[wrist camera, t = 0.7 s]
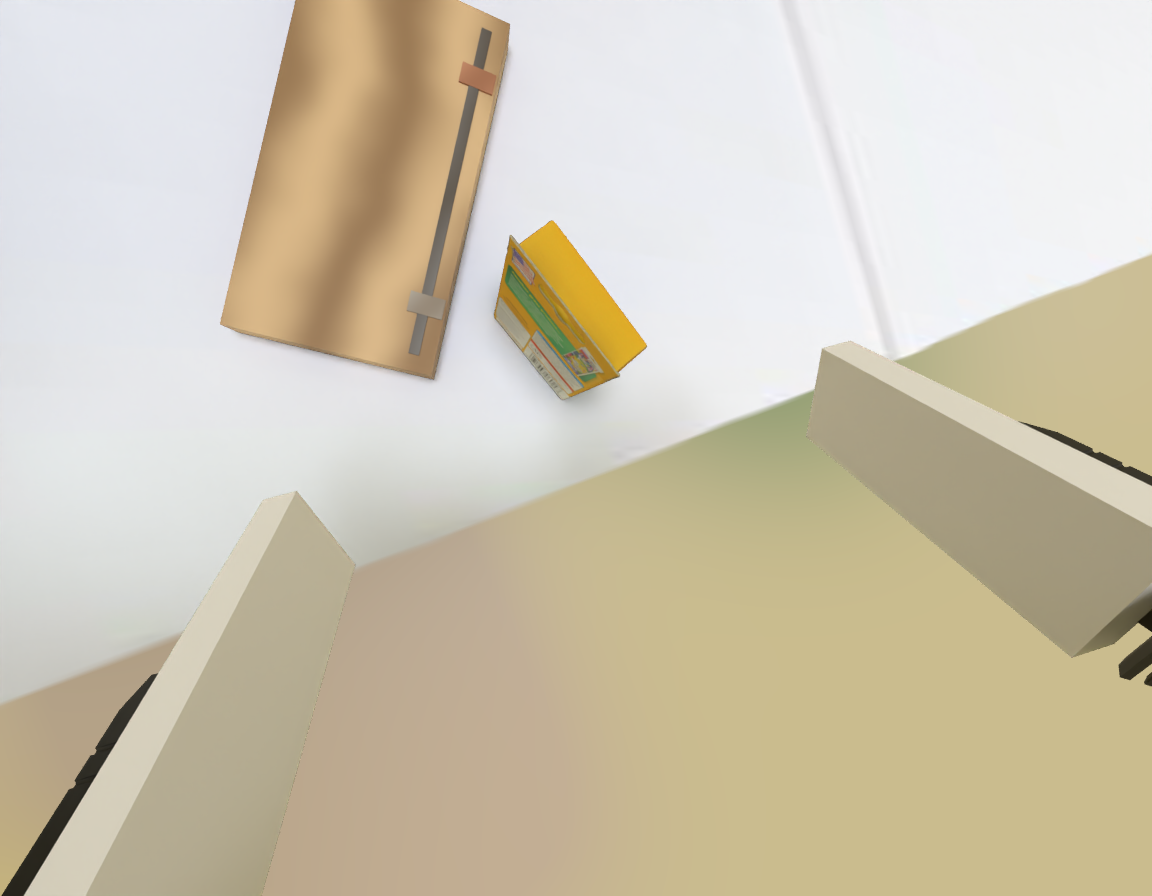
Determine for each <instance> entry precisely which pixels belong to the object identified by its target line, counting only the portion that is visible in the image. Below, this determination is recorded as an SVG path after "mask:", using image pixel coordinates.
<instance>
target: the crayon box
mask: <svg viewBox="0 0 1152 896" xmlns="http://www.w3.org/2000/svg"><path fill="white" fill-rule="evenodd" d="M494 317H495V319H496V320H497V321H498V322H499V323H500V325H501V326H502V327H503V328H504V330H505V331H506V332H507V333H508V335H509V336H510V337H511V338H512V339H513V341H514V342H515V343H516V344H517V345H518V347H519V348H520V349H521V350H522V352H523V353H524V354H525V356H526V357H527V358H528V359H529V361H530V362H531V363H532V364H533V366H534V367H535V368H536V369H537V371H538V372H539V373H540V374H541V375H542V377H543V378H544V379H545V380H546V381H547V383H548V384H549V385H550V386H551V388H552V389H553V390H554V391H555V392H556V394H557V395H558V396H559V397H560V399H561V400H565V399H567V398H569V397H572V396H574V395H577V394H579V393H581V392H584V391H586V390H589V389H591V388H593V387H596V386H598V385H600V384H603V383H605V382H607V381H610V380H611V379H614V378H617V377H620V374H619V373H618V372H619V371H620V370H622V369H623V368H624V367H625V366H626V365H627V364H628V363H630V362H631V361H632V360H633V359H634V358H635V357H636V356H638V355H639V354H640V353H641V352H642V351H643V350H645V349H646V347H647V345H646V343H645V342H644V340H643V339H642V338H641V336H640V335H639V334H638V332H637V331H636V330H635V328H634V327H633V326H632V324H631V323H630V322H629V320H628V319H627V318H626V316H625V315H624V313H623V312H622V311H621V310H620V308H619V307H618V305H617V304H616V303H615V301H614V300H613V299H612V297H611V296H610V295H609V293H608V292H607V291H606V289H605V288H604V286H603V285H602V284H601V283H600V281H599V280H598V278H597V277H596V276H595V275H594V273H593V272H592V270H591V269H590V268H589V267H588V265H587V264H586V262H585V261H584V260H583V259H582V257H581V256H580V255H579V254H578V252H577V251H576V249H575V248H574V247H573V245H572V244H571V243H570V242H569V240H568V239H567V237H566V236H565V235H564V234H563V232H562V231H561V230H560V228H559V227H558V226H557V224H556V223H555V222H554V221H552V220H551V221H549V222H548V223H547V224H546V225H545V226H543V227H542V228H540V229H539V230H538V231H536V232H535V233H533V234H532V235H531V236H529V237H528V238H527V239H525V240H524V241H523V242H521V243H520V244H518V243H517V241H516V240H515V239H514V238H513V236H512V235H510V237H509V245H508V247H507V254H506V258H505V263H504V269H503V274H502V279H501V283H500V289H499V293H498V298H497V303H496V308H495V312H494Z"/></svg>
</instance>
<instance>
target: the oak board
mask: <svg viewBox="0 0 1152 896" xmlns="http://www.w3.org/2000/svg"><path fill="white" fill-rule="evenodd" d="M509 30H510V24H509V23H506V22H504V21H502V20H500V19H498V18H496V17H493V16H491V15H489V14H487V13H485V12H483V11H480V10H478V9H476V8H474V7H472V6H470V5H467V4H465V3H463V2H461V1H459V0H296V1H295V5H294V10H293V14H292V18H291V23H290V27H289V31H288V35H287V40H286V44H285V48H284V52H283V57H282V61H281V65H280V70H279V74H278V78H277V82H276V87H275V91H274V95H273V100H272V104H271V108H270V112H269V117H268V121H267V125H266V129H265V134H264V138H263V142H262V147H261V151H260V155H259V159H258V164H257V168H256V172H255V176H254V181H253V185H252V189H251V194H250V198H249V202H248V206H247V211H246V215H245V219H244V223H243V228H242V232H241V236H240V241H239V245H238V249H237V253H236V258H235V262H234V266H233V270H232V275H231V279H230V283H229V288H228V292H227V296H226V300H225V305H224V309H223V313H222V317H221V322H220V324H221V325H223V326H225V327H228V328H230V329H232V330H235V331H237V332H240V333H244V334H248V335H252V336H256V337H261V338H265V339H269V340H273V341H277V342H281V343H285V344H289V345H293V346H298V347H302V348H306V349H310V350H314V351H318V352H322V353H326V354H330V355H335V356H339V357H343V358H347V359H351V360H355V361H359V362H363V363H368V364H372V365H376V366H380V367H384V368H388V369H392V370H396V371H400V372H405V373H409V374H413V375H417V376H421V377H425V378H429V379H433V380H434V376H435V372H436V368H437V363H438V359H439V354H440V350H441V345H442V341H443V336H444V332H445V327H446V323H447V319H448V314H449V310H450V305H451V301H452V296H453V292H454V287H455V283H456V278H457V274H458V270H459V265H460V261H461V256H462V252H463V247H464V243H465V238H466V234H467V229H468V225H469V221H470V216H471V212H472V207H473V203H474V198H475V194H476V189H477V185H478V180H479V176H480V172H481V167H482V163H483V158H484V154H485V149H486V145H487V140H488V136H489V131H490V127H491V123H492V118H493V114H494V109H495V105H496V100H497V96H498V91H499V87H500V83H501V78H502V74H503V69H504V65H505V60H506V56H507V51H508V42H509Z"/></svg>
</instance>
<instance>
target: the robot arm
mask: <svg viewBox="0 0 1152 896" xmlns="http://www.w3.org/2000/svg"><path fill="white" fill-rule="evenodd" d="M806 437H807V438H808V439H809V440H811V441H812V442H813V443H814V444H815V445H817V446H818V447H819V448H820V449H821V450H823V451H824V452H825V453H826V454H827V455H829V456H830V457H831V458H832V459H834V460H835V461H836V462H837V463H838V464H840V465H841V466H842V467H843V468H844V469H846V470H847V471H848V472H849V473H850V474H852V475H853V476H854V477H855V478H856V479H857V480H859V481H860V482H861V483H862V484H864V485H865V486H866V487H867V488H868V489H870V490H871V491H872V492H873V493H874V494H876V495H877V496H878V497H879V498H880V499H882V500H883V501H884V502H885V503H886V504H888V505H889V506H890V507H891V508H892V509H894V510H895V511H896V512H897V513H898V514H900V515H901V516H902V517H903V518H904V519H906V520H907V521H908V522H909V523H910V524H912V525H913V526H914V527H915V528H916V529H918V530H919V531H920V532H921V533H922V534H924V535H925V536H926V537H927V538H928V539H930V540H931V541H932V542H933V543H934V544H936V545H937V546H938V547H939V548H941V549H942V550H943V551H944V552H945V553H947V554H948V555H949V556H950V557H951V558H952V559H954V560H955V561H956V562H957V563H958V564H960V565H961V566H962V567H963V568H964V569H966V570H967V571H968V572H969V573H971V574H972V575H973V576H974V577H975V578H977V579H978V580H979V581H980V582H981V583H982V584H984V585H985V586H986V587H987V588H988V589H990V590H991V591H992V592H993V593H995V594H996V595H997V596H998V597H999V598H1001V599H1002V600H1003V601H1004V602H1005V603H1007V604H1008V605H1009V606H1010V607H1011V608H1013V609H1014V610H1015V611H1016V612H1017V613H1019V614H1020V615H1021V616H1022V617H1023V618H1025V619H1026V620H1027V621H1028V622H1029V623H1031V624H1032V625H1033V626H1034V627H1035V628H1037V629H1038V630H1039V631H1041V633H1043V634H1044V635H1045V636H1046V637H1048V638H1049V639H1050V640H1051V641H1052V642H1053V643H1055V644H1056V645H1057V646H1058V647H1060V648H1061V649H1062V650H1063V651H1064V652H1066V653H1067V654H1068V655H1069V656H1070V657H1071V658H1073V657H1076V656H1078V655H1082V654H1085V653H1088V652H1090V651H1094V650H1097V649H1100V648H1103V647H1106V646H1109V645H1112V644H1114V643H1115V642H1117V641H1118V640H1119V639H1120V638H1121V637H1122V636H1123V635H1125V634H1126V633H1127V632H1128V631H1129V630H1130V629H1131V628H1133V627H1134V626H1135V625H1136V624H1137V623H1140V624H1141V625H1142V626H1144V627H1145V628H1147V629H1148V630H1150V631H1151V632H1152V476H1150V475H1148V474H1145V473H1143V472H1141V471H1139V470H1137V469H1135V468H1133V467H1130V466H1129V467H1124V466H1123V465H1122V462H1120V461H1118V460H1116V459H1113V458H1111V457H1109V456H1107V455H1105V454H1103V453H1101V452H1099V453H1094V452H1093V450H1092V448H1090V447H1088V446H1085V445H1084V444H1081V443H1079V442H1077V441H1075V440H1073V439H1071V438H1069V437H1066V436H1064V435H1062V434H1060V433H1058V432H1055V431H1051V430H1047V429H1044V428H1040V427H1037V426H1033V425H1030V424H1027V423H1022V422H1019V421H1016V420H1013V419H1012V418H1010V417H1008V416H1005V415H1003V414H1001V413H999V412H997V411H995V410H993V409H991V408H989V407H987V406H985V405H983V404H981V403H978V402H976V401H974V400H972V399H970V398H968V397H966V396H964V395H962V394H960V393H958V392H956V391H954V390H952V389H949V388H947V387H945V386H943V385H941V384H939V383H937V382H935V381H933V380H931V379H929V378H927V377H924V376H922V375H920V374H918V373H916V372H914V371H912V370H910V369H908V368H906V367H904V366H902V365H900V364H898V363H896V362H893V361H891V360H889V359H887V358H885V357H883V356H881V355H879V354H877V353H875V352H873V351H871V350H869V349H867V348H864V347H862V346H860V345H858V344H856V343H854V342H852V341H848V342H844V343H840V344H837V345H833V346H829V347H826V348H822V352H821V358H820V363H819V369H818V374H817V380H816V385H815V391H814V397H813V402H812V407H811V413H810V418H809V425H808V429H807V436H806ZM354 567H355V564H354V563H353V561H352V560H351V559H350V558H349V556H348V555H347V554H346V552H345V551H344V550H343V549H342V547H341V546H340V545H339V544H338V542H337V541H336V540H335V539H334V537H333V536H332V535H331V534H330V532H329V531H328V530H327V529H326V527H325V526H324V525H323V524H322V522H321V521H320V520H319V519H318V517H317V516H316V515H315V514H314V512H313V511H312V510H311V508H310V507H309V506H308V505H307V503H306V502H305V501H304V500H303V498H302V497H301V496H300V495H299V493H298V492H297V491H294V492H291V493H287V494H283V495H280V496H276V497H272V498H269V499H265V500H263V501H262V503H261V505H260V506H259V508H258V510H257V511H256V513H255V514H254V516H253V518H252V519H251V521H250V523H249V524H248V526H247V528H246V529H245V531H244V533H243V534H242V536H241V538H240V539H239V541H238V543H237V544H236V546H235V548H234V549H233V551H232V552H231V554H230V556H229V557H228V559H227V561H226V562H225V564H224V566H223V567H222V569H221V571H220V572H219V574H218V576H217V577H216V579H215V581H214V582H213V584H212V586H211V587H210V589H209V591H208V592H207V594H206V595H205V597H204V599H203V600H202V602H201V604H200V605H199V607H198V609H197V610H196V612H195V614H194V615H193V617H192V619H191V620H190V622H189V624H188V625H187V627H186V629H185V630H184V632H183V633H182V635H181V637H180V638H179V640H178V642H177V643H176V645H175V647H174V648H173V650H172V652H171V654H170V655H169V657H168V658H167V660H166V662H165V663H164V665H163V667H162V668H161V670H160V672H159V673H157V674H153V675H151V676H150V677H149V678H148V680H147V681H146V682H145V683H144V684H143V685H142V686H141V687H140V688H139V689H138V690H137V691H136V693H135V694H134V695H133V696H132V697H131V698H130V699H129V700H128V701H127V702H126V703H125V705H124V706H123V707H122V708H121V709H120V710H119V712H118V713H117V715H116V716H115V718H114V719H113V721H112V723H111V724H110V726H109V727H108V729H107V730H106V732H105V734H104V735H103V737H102V738H101V740H100V741H99V743H98V745H97V746H96V750H97V751H96V753H95V755H91V756H90V757H89V759H88V760H87V762H86V764H85V765H84V767H83V768H82V770H81V771H80V773H79V774H78V776H77V778H76V779H75V782H76V785H75V787H74V788H72V789H69V790H68V792H67V794H66V795H65V797H64V798H63V800H62V801H61V803H60V804H59V806H58V808H57V809H56V811H55V812H54V814H53V815H52V817H51V819H50V820H49V822H48V823H47V825H46V827H45V828H44V830H43V831H42V833H41V834H40V836H39V837H38V839H37V841H36V842H35V844H34V846H33V847H32V848H31V850H30V852H29V853H28V855H27V856H26V858H25V860H24V861H23V863H22V864H21V866H20V867H19V869H18V871H17V872H16V874H15V875H14V877H13V878H12V880H11V882H10V883H9V885H8V886H7V888H6V889H5V891H4V893H3V894H2V896H262V893H263V889H264V885H265V882H266V878H267V875H268V871H269V868H270V864H271V861H272V857H273V853H274V850H275V846H276V843H277V839H278V836H279V832H280V828H281V825H282V822H283V818H284V815H285V811H286V808H287V804H288V801H289V797H290V794H291V790H292V786H293V783H294V779H295V776H296V772H297V769H298V765H299V762H300V758H301V754H302V751H303V748H304V744H305V740H306V737H307V734H308V730H309V726H310V723H311V719H312V716H313V712H314V709H315V705H316V702H317V698H318V695H319V691H320V688H321V684H322V680H323V677H324V673H325V670H326V666H327V663H328V659H329V656H330V652H331V649H332V645H333V641H334V638H335V635H336V631H337V627H338V624H339V620H340V616H341V613H342V610H343V606H344V602H345V599H346V596H347V592H348V589H349V585H350V581H351V578H352V574H353V571H354ZM1151 664H1152V636H1151V637H1150V638H1149V639H1148V640H1146V641H1145V642H1144V643H1143V644H1142V645H1140V646H1139V647H1138V648H1137V649H1135V650H1134V651H1133V652H1132V653H1130V654H1129V655H1128V656H1127V657H1126V658H1125V659H1124V660H1123V661H1122V662H1121V663H1120V664H1119V674H1120V677H1121V678H1124V679H1128V680H1131V679H1132V678H1133V677H1135V676H1136V675H1137V674H1139V673H1140V672H1141V671H1143V670H1144V669H1145V668H1147V667H1148V666H1149V665H1151ZM1144 683H1145V684H1146V685H1149V686H1152V673H1150V674H1149V675H1148V676H1147V678H1146V680H1145V681H1144Z"/></svg>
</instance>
